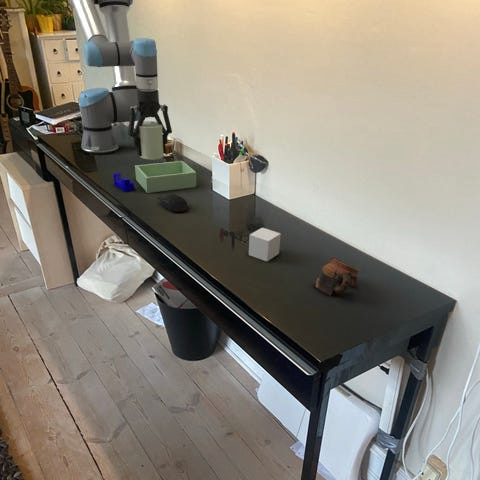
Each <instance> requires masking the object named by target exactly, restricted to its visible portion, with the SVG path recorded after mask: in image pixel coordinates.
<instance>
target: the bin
mask: <svg viewBox="0 0 480 480" xmlns="http://www.w3.org/2000/svg"><path fill="white" fill-rule="evenodd" d="M134 170H135V171H134V172H135V181H136V182H137V183H138V184H139V185H140V187H142V189H143V190H144V191H145V192H146V193H147V194H150V193H158V192H166V191H167V192H168V191H174V190H183V189H191V188H197V172H196V171H195V170H194V169H193V168H192V167H191V166H190V165H188V164H187V163H186V162H185V161H183V160H176V161H166V162H156V163H148V164H137V165H134Z"/></svg>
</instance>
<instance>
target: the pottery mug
mask: <svg viewBox="0 0 480 480" xmlns="http://www.w3.org/2000/svg"><path fill="white" fill-rule="evenodd" d="M358 273H359V270H358V269H356V268H355V267H353V266H352V265H349V264H348V263H346V262H343V261H341V260H339V259H338V258H335V257H331V258H330V260H329V261H327V262H326V263H324V264H323V265H322V271H321V273H320V277H317V278H316V280H315V288H317V289H318V290H319V291H320V292H322V293H324V294H326V295H327V296H332V294H333V292H335V294H337V295H343V294H344V293H346V291H347V290H348V289H349V288H350V286H351V287H356V285H357V282H358V281H357V280H358ZM336 276H337V278H336Z"/></svg>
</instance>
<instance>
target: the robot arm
mask: <svg viewBox="0 0 480 480" xmlns="http://www.w3.org/2000/svg"><path fill="white" fill-rule="evenodd" d="M67 2H68V4H69V5H70V7H71V8H72V9H73V10H74V12H75V15H76V17H77V20H78V24H79V26H80V29H81V32H82V34H83V37H84V40H85V42H83V56H84V61H85V64H86V65H87V66H88V67H94V68H109V67H112V73H113V81H114V83H113V84H112V85H111V91H109V89H108V88H106V87H93V88H88V89H86V90H83V91H81V92H80V93H79V95H78V96H79V97H78V100H79V107H80V114H81V115H80V116H81V120H82V121H81V122H82V130H83V133H81V132H80V127H81V126H80V123H79V121H78V120H76V119H74V120H72V121H73V122H75V123H76V124H77V133H78V135H80V136H81V137H82V138H81V143H80V144H81V146H80V147H81V151H82V152H83V153H86V154H90V155H108V154H112V153H116V152H117V151H119V149H120V148H119V142H118V140H117V138H116V135H115V133H114V131H113V123H128V129H127V135H128V136H130V137H133V144H134V145H133V146H135V147H136V153H137V154H136V155H138V156H139V157H140V156H141V144H140V138H139V137H138V135H139V133H140V130H139V126H142V125H143V122H145V120H146V119H148V118H154V119H155V122H157V123H158V124H159V125H162V135H163V153H164V155H165V154H167V151H166V150H167V149H166V145H168V142H169V141H168V136H169V134H172V133H173V130H172V125H171V122H170V121H171V120H170V117H169V113H168V111H169V107H168V106H167V104H160V98H159V97H160V96H159V95H160V94H159V93H160V92H159V90H158V89H159V79H158V77H159V76H158V50H157V42H156V40H154V39H153V38H149V37H148V38H147V37H138V38H135V39H134V40H131V36H130V29H129V21H128V13H129V12H130V10H131V8H130V6H132V5H133V2H134V0H67ZM96 5H98V7H99V8H98V9H99V11H100V12H101V14H103V16H104V20H105V21H104V22H105V28H106V31H105V28H104V25H103V22H102V20H101V18H100V15H99V11H98V10H97V7H96ZM159 111H161V112H162V116H163V120H164V124H165V125H164V124H163V122H162V120H161V117H160V115H159ZM135 122H136V125H135Z"/></svg>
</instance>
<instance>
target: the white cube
mask: <svg viewBox="0 0 480 480" xmlns="http://www.w3.org/2000/svg"><path fill="white" fill-rule="evenodd" d="M281 236H282V234H281V233H280V232H277V231H274V230H271V229H268V228H265V227H261V228H259V229H257V230H255V231H253V232H252V233H250V234H249V238H248V239H249V241H248V244H249V245H248V256H250V257H253V258H256V259H258V260H262V261H264V262H269V261H271V260H272V259H273V258H275V257H276V256H278V255H279V254H280V247H281Z"/></svg>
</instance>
